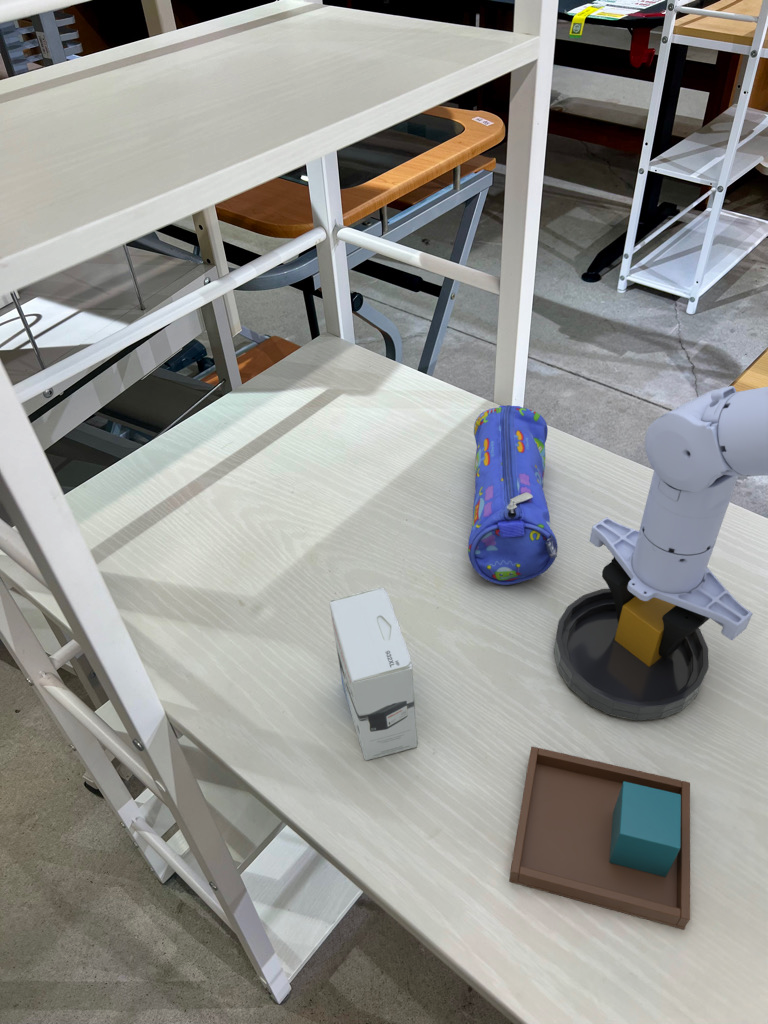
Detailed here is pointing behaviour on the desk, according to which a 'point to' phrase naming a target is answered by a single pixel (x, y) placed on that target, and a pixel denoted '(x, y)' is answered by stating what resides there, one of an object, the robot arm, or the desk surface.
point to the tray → (593, 839)
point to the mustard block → (642, 628)
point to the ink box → (375, 672)
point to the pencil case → (510, 497)
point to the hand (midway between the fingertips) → (647, 634)
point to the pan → (624, 664)
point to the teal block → (646, 829)
